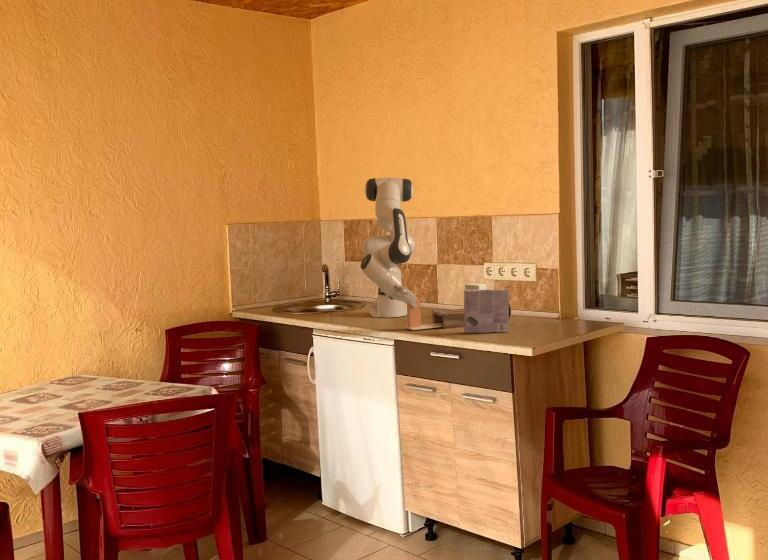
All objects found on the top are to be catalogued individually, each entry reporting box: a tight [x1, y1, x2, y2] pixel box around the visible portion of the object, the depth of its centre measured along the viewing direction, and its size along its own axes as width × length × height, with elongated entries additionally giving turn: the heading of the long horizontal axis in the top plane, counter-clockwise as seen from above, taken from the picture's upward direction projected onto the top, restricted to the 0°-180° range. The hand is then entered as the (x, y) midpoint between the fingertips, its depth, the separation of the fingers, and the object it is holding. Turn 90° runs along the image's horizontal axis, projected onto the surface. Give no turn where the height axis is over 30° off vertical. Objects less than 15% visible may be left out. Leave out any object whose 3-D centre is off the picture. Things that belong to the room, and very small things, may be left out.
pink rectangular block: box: [405, 297, 443, 331], centre depth 353 cm, size 8×21×13 cm, turn 110°
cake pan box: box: [463, 288, 512, 334], centre depth 334 cm, size 19×5×18 cm, turn 88°
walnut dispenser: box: [431, 308, 464, 330], centre depth 357 cm, size 13×18×7 cm
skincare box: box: [464, 282, 488, 290], centre depth 377 cm, size 8×7×16 cm
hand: (413, 306), depth 350 cm, fingers closed on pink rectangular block, 3 cm apart
